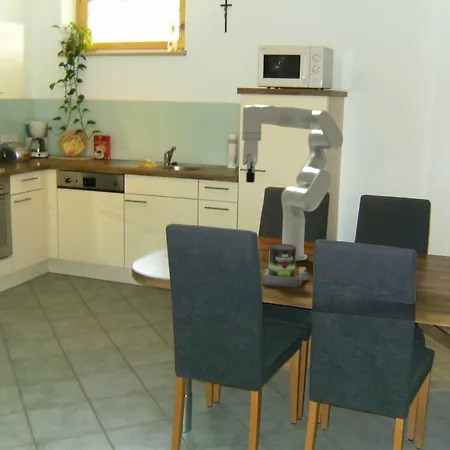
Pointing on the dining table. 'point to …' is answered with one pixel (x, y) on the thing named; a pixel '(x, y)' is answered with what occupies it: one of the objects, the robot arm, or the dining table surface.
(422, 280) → the dining table surface
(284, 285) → the bracket
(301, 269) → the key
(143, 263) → the dining table surface
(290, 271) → the coffee can
